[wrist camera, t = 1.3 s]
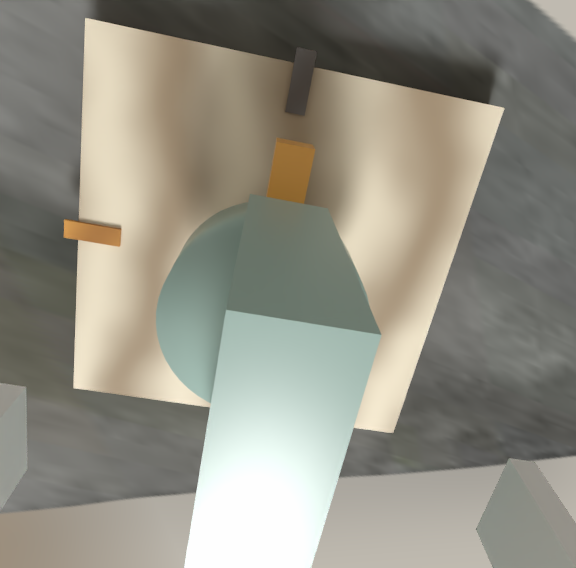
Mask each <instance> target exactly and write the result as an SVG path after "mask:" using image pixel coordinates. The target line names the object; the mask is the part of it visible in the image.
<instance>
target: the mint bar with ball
mask: <svg viewBox="0 0 576 568" xmlns="http://www.w3.org/2000/svg"><path fill="white" fill-rule="evenodd" d="M314 154H315V148H314V146H313V145H312V144H307V143H302V142H297V141H292V140H287V139H282V138H276V143H275V149H274V154H273V160H272V166H271V171H270V177H269V182H268V188H267V194H266V197H264V196H259V195H254V194H250V196H249V201H248V202H246V203H242V204H238V205H234V206H231V207H229V208H227V209H224V210H222V211H220V212H218V213H216V214H215V215H213V216H211V217H210V218H209V219H207V220H206V221H205V222H204V223H202V224H201V225H200V226H199V227H198V228H197V229H196V230H195V231H194V232H193V233H192V235H191V236H190V237H189V239H188V240H187V242H186V243H185V245H184V247H183V249H182V250H181V252H180V254H179V256H178V258H177V260H176V262H175V263H174V265H173V267H172V269H171V271H170V273H169V274H168V276H167V278H166V280H165V282H164V284H163V286H162V289H161V292H160V295H159V298H158V303H157V309H156V330H157V337H158V341H159V344H160V348H161V350H162V353H163V355H164V357H165V360H166V361H167V363H168V365H169V366H170V368H171V370H172V371H173V372H174V374H175V375H176V376H177V377H178V379H179V380H180V381H181V382H182V383H183V384H184V385H185V386H186V387H187V388H188V389H190V390H191V391H192V392H194V393H195V394H196V395H197V396H199V397H200V398H202V399H204V400H206V401H207V402H209V403H211V405H210V412H209V418H208V424H207V430H206V436H205V443H204V449H203V455H202V461H201V467H200V474H199V480H198V486H197V492H196V499H195V504H194V511H193V517H192V523H191V529H190V536H189V542H188V548H187V554H186V560H185V566H184V568H311V566H312V562H313V559H314V556H315V553H316V550H317V547H318V543H319V540H320V537H321V533H322V530H323V526H324V523H325V520H326V517H327V514H328V510H329V507H330V504H331V500H332V497H333V494H334V490H335V487H336V484H337V480H338V477H339V474H340V471H341V467H342V464H343V461H344V457H345V454H346V451H347V447H348V444H349V441H350V438H351V434H352V431H353V428H354V424H355V421H356V418H357V414H358V411H359V408H360V405H361V401H362V398H363V395H364V391H365V388H366V385H367V381H368V378H369V375H370V372H371V368H372V365H373V362H374V358H375V355H376V352H377V348H378V345H379V342H380V339H381V332H380V330H379V328H378V325H377V323H376V321H375V318H374V316H373V314H372V311H371V309H370V306H369V301H368V297H367V294H366V291H365V289H364V286H363V283H362V281H361V279H360V277H359V274H358V272H357V270H356V267H355V265H354V263H353V261H352V258H351V256H350V254H349V251H348V250H347V248H346V246H345V244H344V243H343V241H342V240H341V238H340V236H339V233H338V231H337V229H336V226H335V224H334V222H333V219H332V217H331V215H330V212H329V210H328V208H323V207H318V206H313V205H307V204H304V201H305V197H306V192H307V187H308V182H309V177H310V173H311V168H312V163H313V158H314Z"/></svg>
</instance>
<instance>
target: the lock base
mask: <svg viewBox="0 0 576 568" xmlns="http://www.w3.org/2000/svg"><path fill="white" fill-rule="evenodd" d="M316 55H317V51H313V50H309V49H304V48H299V47H297V49H296V54H295V60H294V63H293V62H288V61H283V60H279V59H274V58H269V57H265V56H260V55H255V54H251V53H246V52H242V51H237V50H232V49H228V48H223V47H218V46H214V45H209V44H204V43H200V42H195V41H190V40H186V39H181V38H176V37H172V36H167V35H163V34H158V33H153V32H149V31H144V30H139V29H135V28H130V27H125V26H121V25H116V24H111V23H107V22H102V21H97V20H93V19H88V18H85V44H84V75H83V106H82V138H81V169H80V200H79V221H74V220H68V219H65V220H64V238H70V239H76V240H78V263H77V294H76V325H75V357H74V388H77V389H84V390H91V391H98V392H106V393H113V394H120V395H127V396H134V397H141V398H148V399H155V400H162V401H169V402H176V403H183V404H190V405H197V406H205V407H210V405H211V403H209V402H207V401H206V400H204V399H202V398H200V397H199V396H197V395H196V394H195V393H194V392H192V391H191V390H190V389H188V388H187V387H186V386H185V385H184V384H183V383H182V382H181V381H180V380H179V379H178V377H177V376H176V375H175V374H174V372H173V371H172V370H171V368H170V366H169V365H168V363H167V361H166V360H165V357H164V355H163V353H162V350H161V348H160V344H159V341H158V337H157V330H156V309H157V303H158V298H159V295H160V292H161V289H162V286H163V284H164V282H165V280H166V278H167V276H168V274H169V273H170V271H171V269H172V267H173V265H174V263H175V262H176V260H177V258H178V256H179V254H180V252H181V250H182V249H183V247H184V245H185V243H186V242H187V240H188V239H189V237H190V236H191V235H192V233H193V232H194V231H195V230H196V229H197V228H198V227H199V226H200V225H201V224H202V223H204V222H205V221H206V220H207V219H209V218H210V217H211V216H213V215H215V214H216V213H218V212H220V211H222V210H224V209H227V208H229V207H231V206H234V205H238V204H242V203H246V202H248V201H249V196H250V194H254V195H259V196H264V197H266V194H267V188H268V182H269V177H270V171H271V166H272V160H273V154H274V149H275V143H276V138H282V139H287V140H292V141H297V142H302V143H307V144H312V145H313V146H314V148H315V154H314V158H313V163H312V168H311V173H310V177H309V182H308V187H307V192H306V197H305V201H304V204H307V205H313V206H318V207H323V208H328V210H329V212H330V215H331V217H332V219H333V222H334V224H335V226H336V229H337V231H338V233H339V236H340V238H341V240H342V241H343V243H344V244H345V246H346V248H347V250H348V251H349V254H350V256H351V258H352V261H353V263H354V265H355V267H356V270H357V272H358V274H359V277H360V279H361V281H362V283H363V286H364V289H365V291H366V294H367V297H368V301H369V306H370V309H371V311H372V314H373V316H374V318H375V321H376V323H377V325H378V328H379V330H380V332H381V339H380V342H379V345H378V348H377V352H376V355H375V358H374V362H373V365H372V368H371V372H370V375H369V378H368V381H367V385H366V388H365V391H364V395H363V398H362V401H361V405H360V408H359V411H358V414H357V418H356V421H355V424H354V428H360V429H367V430H374V431H381V432H388V433H393V432H394V429H395V426H396V423H397V420H398V417H399V414H400V411H401V408H402V405H403V403H404V400H405V397H406V394H407V391H408V388H409V385H410V382H411V379H412V376H413V373H414V370H415V368H416V365H417V362H418V359H419V356H420V353H421V350H422V347H423V344H424V341H425V338H426V335H427V333H428V330H429V327H430V324H431V321H432V318H433V315H434V312H435V309H436V306H437V303H438V300H439V297H440V295H441V292H442V289H443V286H444V283H445V280H446V277H447V274H448V271H449V268H450V265H451V262H452V260H453V257H454V254H455V251H456V248H457V245H458V242H459V239H460V236H461V233H462V230H463V227H464V225H465V222H466V219H467V216H468V213H469V210H470V207H471V204H472V201H473V198H474V195H475V192H476V190H477V187H478V184H479V181H480V178H481V175H482V172H483V169H484V166H485V163H486V160H487V157H488V155H489V152H490V149H491V146H492V143H493V140H494V137H495V134H496V131H497V128H498V125H499V122H500V120H501V117H502V114H503V111H504V108H502V107H497V106H493V105H488V104H483V103H479V102H474V101H469V100H465V99H460V98H455V97H451V96H446V95H441V94H437V93H432V92H427V91H423V90H418V89H414V88H409V87H404V86H400V85H395V84H390V83H386V82H381V81H376V80H372V79H367V78H362V77H358V76H353V75H348V74H344V73H339V72H334V71H330V70H325V69H321V68H316V67H314V65H315V60H316Z"/></svg>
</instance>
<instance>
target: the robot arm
mask: <svg viewBox="0 0 576 568" xmlns="http://www.w3.org/2000/svg"><path fill="white" fill-rule="evenodd" d="M26 470H27V409H26V387H23V386H16V385H10V384H3V383H0V510H1V509H2V507H3V506H4V504H5V503H6V501H7V500H8V498H9V497H10V495H11V494H12V492H13V490H14V489H15V487H16V486H17V484H18V483H19V481H20V480H21V478H22V477H23V475H24V474H25V472H26ZM476 530H477V532H478V535H479V537H480V539H481V542H482V544H483V546H484V548H485V551H486V553H487V555H488V558H489V560H490V562H491V564H492V567H493V568H576V523H575V521H574V520H573V519H572V517H571V516H570V514H569V512H568V511H567V509H566V508H565V507H564V505H563V504H562V502H561V501H560V499H559V497H558V496H557V494H556V493H555V492H554V490H553V489H552V487H551V486H550V484H549V483H548V481H547V480H546V478H545V477H544V475H543V474H542V472H541V471H540V469H539V468H538V466H537V465H536V463H535V462H531V461H524V460H517V459H510V458H509V460H508V462H507V464H506V466H505V468H504V471H503V473H502V475H501V477H500V479H499V481H498V484H497V486H496V487H495V490H494V492H493V494H492V496H491V498H490V501H489V503H488V505H487V507H486V509H485V511H484V513H483V515H482V517H481V520H480V522H479V524H478V526H477V528H476Z"/></svg>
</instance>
